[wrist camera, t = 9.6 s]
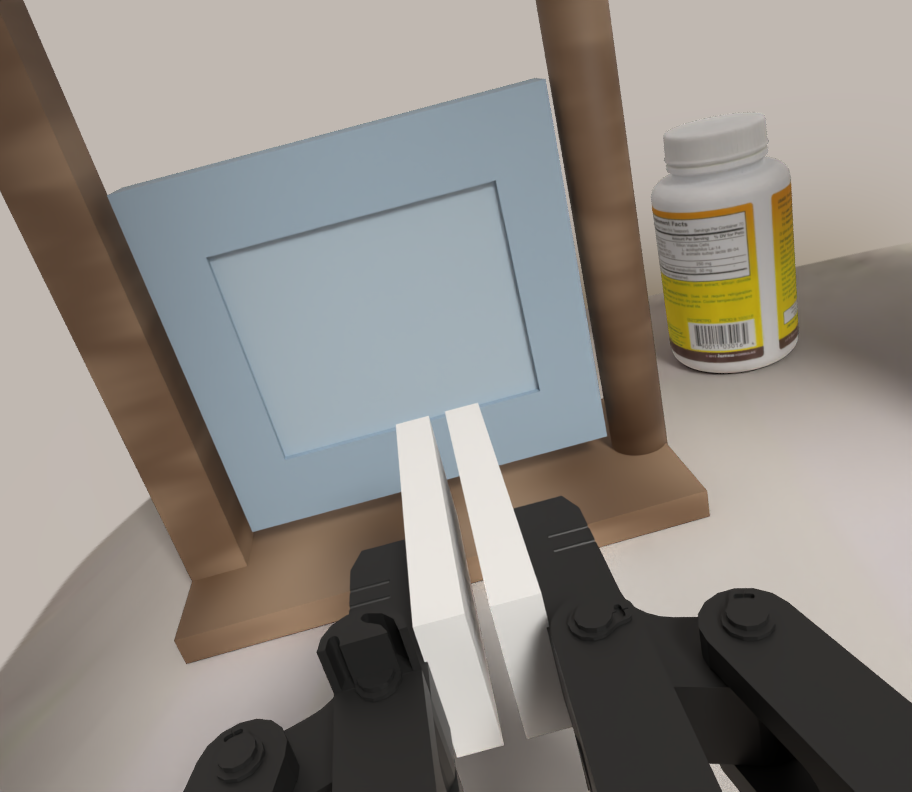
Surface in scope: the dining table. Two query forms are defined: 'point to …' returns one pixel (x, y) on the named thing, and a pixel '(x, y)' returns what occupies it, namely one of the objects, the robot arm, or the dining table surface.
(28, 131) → the gate frame
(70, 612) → the dining table surface
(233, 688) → the dining table surface
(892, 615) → the dining table surface
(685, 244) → the supplement bottle
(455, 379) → the panel
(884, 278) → the dining table surface
